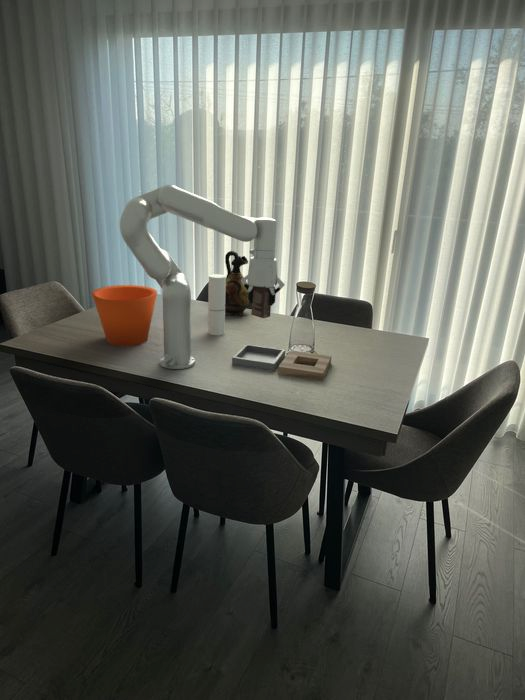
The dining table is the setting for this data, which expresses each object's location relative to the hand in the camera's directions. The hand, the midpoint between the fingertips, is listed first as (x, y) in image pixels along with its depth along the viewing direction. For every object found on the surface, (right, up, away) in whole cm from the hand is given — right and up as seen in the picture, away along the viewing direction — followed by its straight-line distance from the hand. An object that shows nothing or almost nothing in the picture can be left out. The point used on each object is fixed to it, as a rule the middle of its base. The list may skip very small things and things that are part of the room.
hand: (261, 303), depth 186 cm
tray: (-1, -21, +8) cm, 22 cm away
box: (0, -5, +2) cm, 5 cm away
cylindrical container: (-20, -10, +37) cm, 43 cm away
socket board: (+16, -24, +2) cm, 29 cm away
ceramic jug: (-14, +1, +68) cm, 70 cm away
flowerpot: (-55, -13, +24) cm, 61 cm away
